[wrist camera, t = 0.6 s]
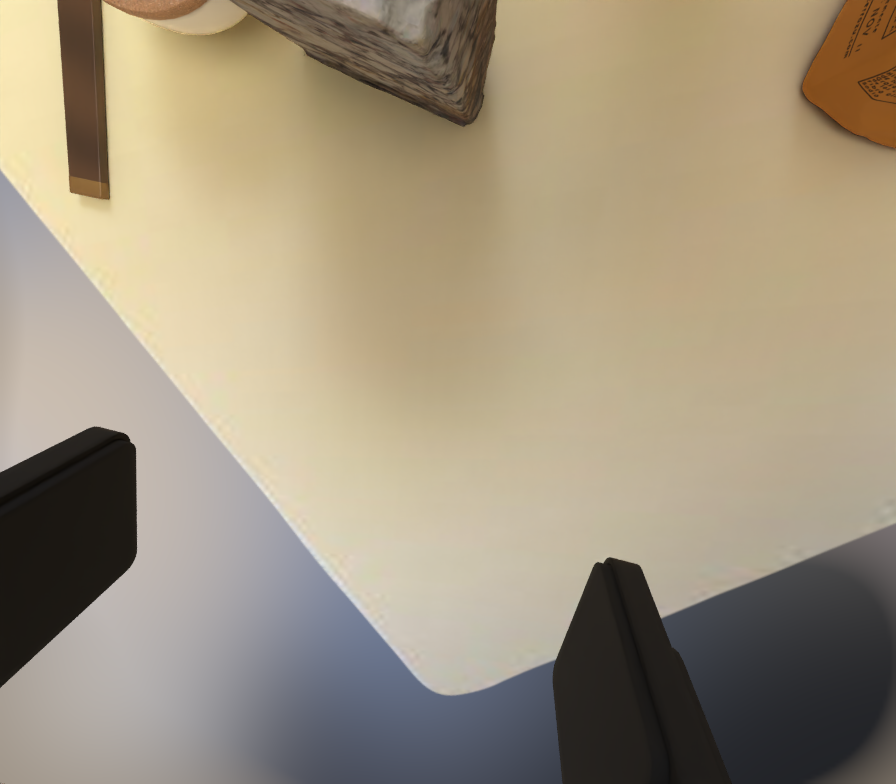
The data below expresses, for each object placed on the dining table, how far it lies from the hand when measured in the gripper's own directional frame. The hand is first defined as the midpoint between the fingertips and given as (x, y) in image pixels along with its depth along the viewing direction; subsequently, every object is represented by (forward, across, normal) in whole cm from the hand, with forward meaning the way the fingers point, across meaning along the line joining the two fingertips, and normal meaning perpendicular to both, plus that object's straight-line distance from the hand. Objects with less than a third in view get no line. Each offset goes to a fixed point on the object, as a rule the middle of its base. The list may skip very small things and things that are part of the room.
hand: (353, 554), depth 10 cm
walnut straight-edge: (+29, +30, -12) cm, 44 cm away
